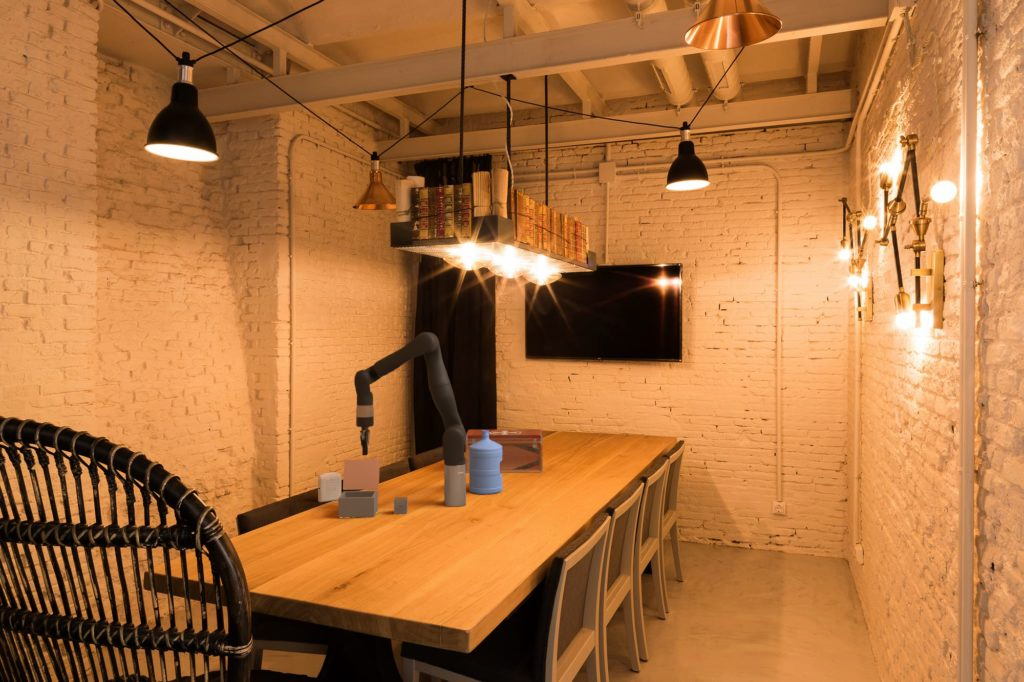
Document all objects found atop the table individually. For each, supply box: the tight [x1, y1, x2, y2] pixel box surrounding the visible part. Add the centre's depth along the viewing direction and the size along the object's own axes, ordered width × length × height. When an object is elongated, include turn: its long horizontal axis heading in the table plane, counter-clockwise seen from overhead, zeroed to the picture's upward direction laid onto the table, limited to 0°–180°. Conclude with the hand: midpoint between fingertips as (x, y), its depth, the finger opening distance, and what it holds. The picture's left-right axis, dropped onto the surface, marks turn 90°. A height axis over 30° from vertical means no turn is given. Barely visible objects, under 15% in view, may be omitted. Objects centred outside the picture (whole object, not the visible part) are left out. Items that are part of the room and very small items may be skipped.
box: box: [337, 490, 379, 519], centre depth 277 cm, size 14×12×8 cm
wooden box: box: [465, 428, 544, 474], centre depth 365 cm, size 20×41×20 cm, turn 89°
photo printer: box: [317, 471, 342, 503], centre depth 300 cm, size 10×4×12 cm, turn 123°
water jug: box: [468, 429, 504, 495], centre depth 316 cm, size 16×16×28 cm
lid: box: [342, 458, 381, 491], centre depth 286 cm, size 15×12×1 cm
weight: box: [393, 496, 408, 514], centre depth 278 cm, size 5×5×6 cm
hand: (365, 455), depth 297 cm, fingers closed
